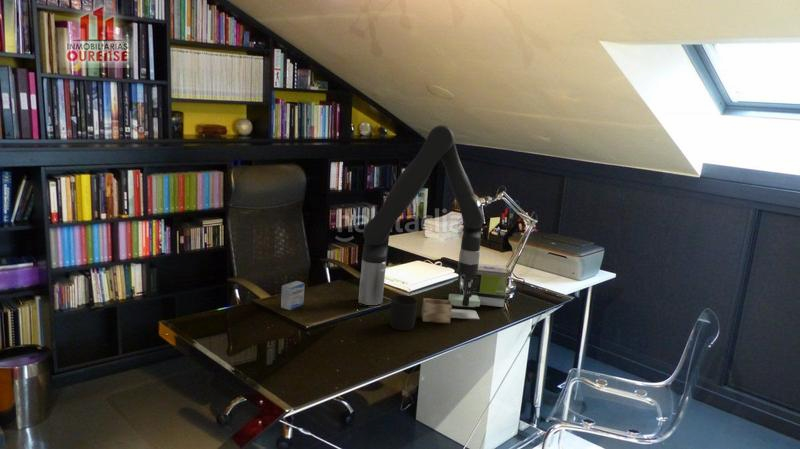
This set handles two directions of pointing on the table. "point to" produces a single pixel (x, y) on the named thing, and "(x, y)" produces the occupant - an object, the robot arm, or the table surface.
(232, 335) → the table surface
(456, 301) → the lid
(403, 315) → the pen holder
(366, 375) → the table surface
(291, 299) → the medicine box
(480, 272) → the tea box
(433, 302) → the box
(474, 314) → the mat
